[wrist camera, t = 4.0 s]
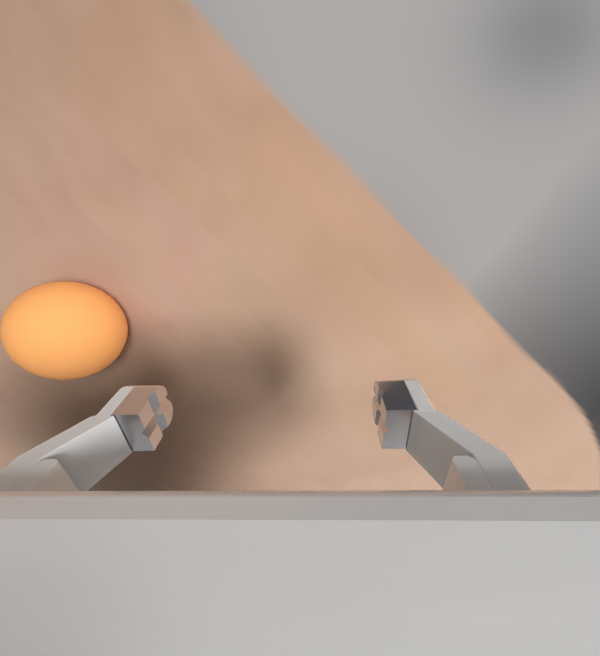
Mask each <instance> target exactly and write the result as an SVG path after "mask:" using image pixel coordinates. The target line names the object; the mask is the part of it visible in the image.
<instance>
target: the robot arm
mask: <svg viewBox="0 0 600 656" xmlns="http://www.w3.org/2000/svg"><path fill="white" fill-rule="evenodd" d="M374 392H375V395H376V396H375V397H374V398H373V404H372V406H373V416H374V421H375V424H376V425H378V436H379V440H380V443H381V447H382V448H392V449H406V450H407V451H408V452H409V453H410V454H411V455H412V457H413V458H414V459H415V460H416V461H417V462H418V463H419V464H420V465H421V466H422V467H423V468H424V469H425V470H426V471H427V472H428V473H429V474H430V475H431V476H432V477H433V478H434V479H435V480H436V481H437V482H438V483H439V484H440V486H441V487H442V488H443V490H384V491H88V490H89V489H90V488H91V487H92V486H94V485H95V484H96V483H97V482H98V481H99V480H101V479H102V478H103V477H104V476H105V475H106V474H108V473H109V472H110V471H111V470H112V469H114V468H115V467H116V466H117V465H118V464H119V463H121V462H122V461H123V460H124V459H125V458H126V457H128V456H129V455H130V454H131V453H132V451H155V449H156V447H157V445H158V444H159V442H160V440H161V438H162V437H163V434H162V431H163V430H164V429H165V428H167V427H168V426H169V424H170V422H171V421H172V416H173V406H172V403H171V402H170V401H169V400H168V399H167V398H166V396H167V394H168V392H167V390H166V388H165V387H164V386H162V385H138V386H124V387H121V389H120V390H119V391H118V392H117V393H116V394H115V395H114V396H113V397H112V398H111V400H110V401H109V402H108V403H107V404H106V405H105V406H104V407H103V408H102V409H101V411H100V412H99V413H98V414H97V415H96V416H91V417H89V418H87V419H85V420H83V421H82V422H80V423H78V424H76V425H74V426H73V427H71V428H69V429H67V430H65V431H63V432H62V433H60V434H58V435H56V436H54V437H52V438H51V439H49V440H47V441H45V442H43V443H41V444H40V445H38V446H36V447H34V448H32V449H30V450H29V451H27V452H25V453H23V454H21V455H20V456H18V457H16V458H14V459H13V460H12V461H11V462H10V463H9V464H8V465H7V466H6V467H5V468H4V469H3V470H2V471H1V472H0V656H600V490H531V489H530V488H529V486H528V485H527V484H526V482H525V481H524V479H523V478H522V476H521V475H520V474H519V472H518V471H517V469H516V468H515V466H514V465H513V464H512V462H511V461H510V459H509V458H508V457H507V455H506V454H505V453H503V452H502V451H500V450H499V449H497V448H495V447H494V446H492V445H491V444H489V443H488V442H486V441H485V440H483V439H482V438H480V437H479V436H477V435H476V434H474V433H472V432H471V431H469V430H468V429H466V428H465V427H463V426H462V425H460V424H459V423H457V422H456V421H454V420H453V419H451V418H450V417H448V416H446V415H445V414H443V413H442V412H440V411H439V410H434V409H433V407H432V405H431V404H430V402H429V400H428V398H427V396H426V394H425V393H424V391H423V389H422V387H421V385H420V383H419V381H418V380H417V379H404V380H382V381H375V383H374Z"/></svg>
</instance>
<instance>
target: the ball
mask: <svg viewBox="0 0 600 656" xmlns="http://www.w3.org/2000/svg"><path fill="white" fill-rule="evenodd" d="M127 336H128V325H127V320H126V317H125V314H124V312H123V310H122V309H121V307H120V306H119V305H118V303H117V302H116V301H115V300H114V299H113V298H112V297H110V296H109V295H108V294H106V293H105V292H103V291H102V290H100V289H98V288H95V287H93V286H90V285H87V284H83V283H78V282H71V281H58V282H50V283H45V284H42V285H38V286H35V287H33V288H31V289H29V290H27V291H25V292H24V293H22V294H21V295H19V296H18V297H17V298H15V299H14V301H13V302H12V303H11V304H10V305H9V306H8V307H7V309H6V311H5V313H4V314H3V317H2V320H1V324H0V338H1V341H2V345H3V347H4V349H5V351H6V353H7V354H8V355H9V357H10V358H11V359H12V360H13V361H14V362H15V363H16V364H17V365H19V366H20V367H22V368H23V369H25V370H26V371H28V372H30V373H32V374H35V375H37V376H41V377H45V378H49V379H57V380H69V379H78V378H83V377H87V376H90V375H92V374H95V373H97V372H99V371H101V370H103V369H104V368H106V367H107V366H109V365H110V364H111V363H112V362H114V361H115V359H116V358H117V357H118V356H119V355H120V353H121V352H122V350H123V348H124V346H125V344H126V341H127Z"/></svg>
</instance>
